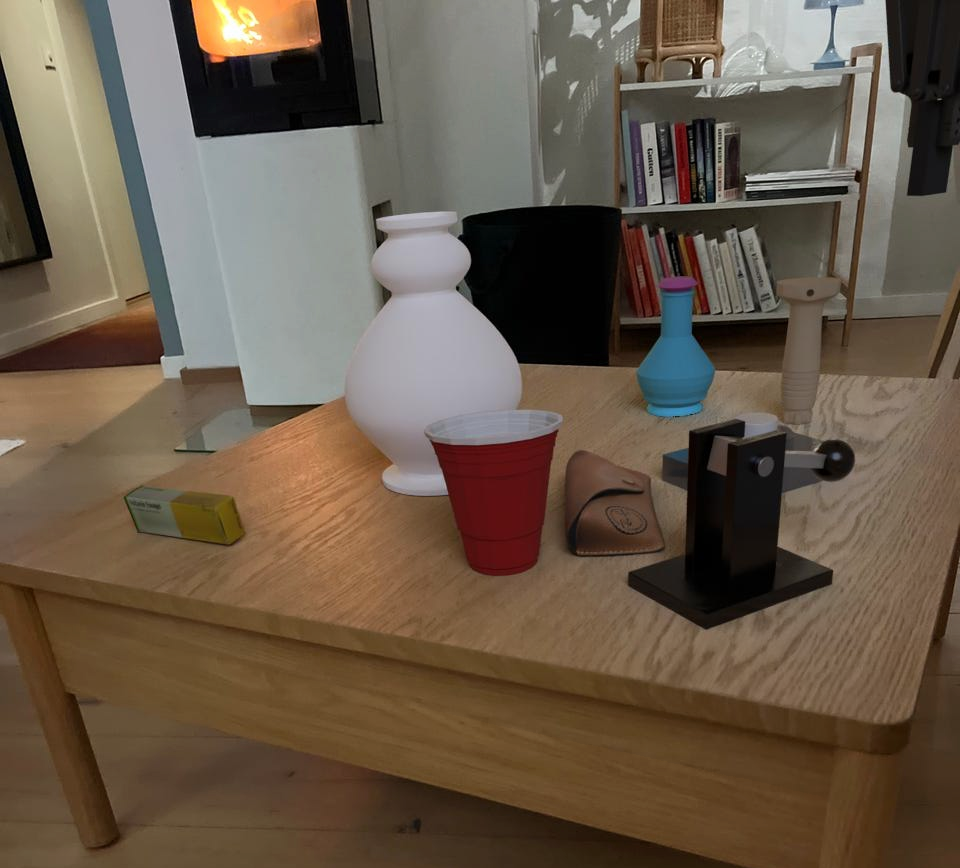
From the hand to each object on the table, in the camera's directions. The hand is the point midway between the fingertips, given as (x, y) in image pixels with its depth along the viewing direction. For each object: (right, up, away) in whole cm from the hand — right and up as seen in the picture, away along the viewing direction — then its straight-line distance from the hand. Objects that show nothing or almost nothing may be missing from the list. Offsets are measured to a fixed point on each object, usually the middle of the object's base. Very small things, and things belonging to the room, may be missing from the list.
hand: (926, 193), depth 74 cm
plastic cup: (-34, -29, +4) cm, 44 cm away
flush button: (-9, -16, +15) cm, 24 cm away
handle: (0, -11, +32) cm, 33 cm away
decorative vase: (-39, -18, +24) cm, 50 cm away
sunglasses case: (-24, -24, +11) cm, 35 cm away
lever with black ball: (-13, -24, -5) cm, 28 cm away
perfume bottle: (-12, -7, +40) cm, 42 cm away
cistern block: (-9, -20, +16) cm, 27 cm away
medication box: (-63, -26, +14) cm, 69 cm away
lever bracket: (-17, -31, -4) cm, 36 cm away
